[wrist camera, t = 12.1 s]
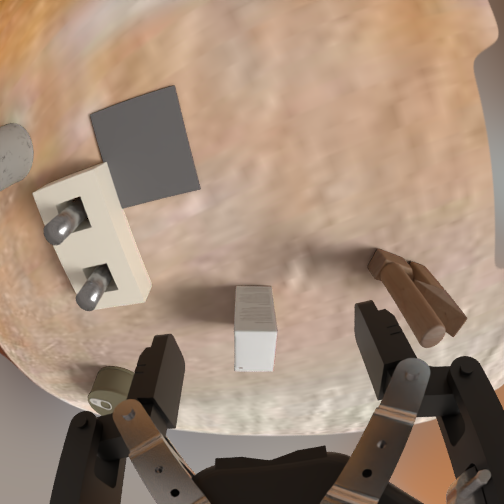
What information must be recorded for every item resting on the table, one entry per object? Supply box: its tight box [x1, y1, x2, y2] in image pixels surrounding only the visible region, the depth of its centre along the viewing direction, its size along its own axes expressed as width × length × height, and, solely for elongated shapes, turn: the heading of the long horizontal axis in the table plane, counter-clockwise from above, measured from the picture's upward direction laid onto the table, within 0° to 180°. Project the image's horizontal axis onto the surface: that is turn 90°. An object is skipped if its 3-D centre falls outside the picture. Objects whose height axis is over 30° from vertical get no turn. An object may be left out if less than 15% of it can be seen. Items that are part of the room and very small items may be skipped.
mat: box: [90, 86, 201, 209], centre depth 38 cm, size 14×12×1 cm
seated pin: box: [76, 263, 113, 311], centre depth 41 cm, size 3×3×10 cm
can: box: [88, 366, 135, 416], centre depth 56 cm, size 12×12×7 cm
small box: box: [234, 286, 278, 371], centre depth 45 cm, size 8×6×10 cm
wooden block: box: [368, 249, 467, 348], centre depth 39 cm, size 4×11×18 cm, turn 70°
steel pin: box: [44, 197, 88, 245], centre depth 37 cm, size 3×3×10 cm
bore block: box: [33, 162, 152, 311], centre depth 41 cm, size 20×11×4 cm, turn 11°
